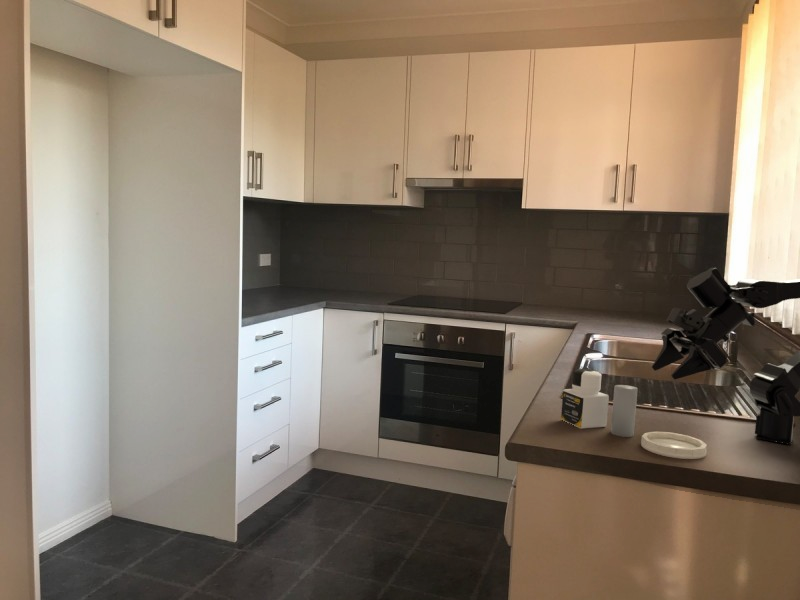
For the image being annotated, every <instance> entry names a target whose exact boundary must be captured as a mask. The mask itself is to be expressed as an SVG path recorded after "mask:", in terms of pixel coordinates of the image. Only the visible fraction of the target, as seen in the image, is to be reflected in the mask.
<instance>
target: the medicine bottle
mask: <svg viewBox="0 0 800 600" xmlns="http://www.w3.org/2000/svg"><path fill="white" fill-rule="evenodd" d="M602 376H603V375H602V374H601V372H599V371H598V370H594V369H588V368H578V369H575V370H574V371H573V372H572V383H571V384H572V385H571V388H565V389H563V390H562V400H561V401H562V403H561V412H560V413H561V415H560V421H562V420H563V421H562V422H564V421H565V422H564V423H566V422H567V424H569V423H570V424H569V425H571V424H572V425H571V426H573V425H574V427H575V428H578V429H594V428H603V427H604V428H605V427H607V420H608V409H609V399H610V398H609V394H606V393H603V392H600V391H601V386H602V385H601V384H602Z"/></svg>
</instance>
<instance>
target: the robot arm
mask: <svg viewBox="0 0 800 600" xmlns="http://www.w3.org/2000/svg"><path fill="white" fill-rule="evenodd" d="M686 288H687V289H688V290H689V292H690V293H691V294H692V295H693V296H694V298H695V299H696V300H697V301H698V302H699V304H700V305H701V306H702V307H703V308H705V309H706V308H711V309H712V310H711V311H709V312H708V314H706V315H705V316H704V315H703V313H702V312H701V311H698V310H697V309H691V310H688V311H687V310H685V309H682V308H678V307H673V308H672V310H671V311H670V314H669V315H668V317H667V318H666V321H667V322H668V323H671V324H674V325H676V326H677V327H679V328H681V330H679V329H676V328H673V327H669V328H667V327H666V329H664V330H663V331H662V332H661V333H660V335H661V340H662V348H661V350H660V351H659V354H658V355H657V357H656V358H655V360H654V361H653V363H652V366H651V369H652V370H653V371H655V372H656V371H658V370H661V369H663V368H665V367H667V366H669V365H671V364H674V363H675V362H678V361H680V360H682V359H684V358H685V356H686V355H687V357H686V358H685V359H684V360H683V361H682V362H681V363H680V364H679V365H678V366H677V368H676V369H674V371H673V372H672V373H671V375H670V376H671V378H672V379H673V380H675V381H676V380H678V379H683V378H686V377H688V376H693V375H695V374H699V373H703V372H706V371H707V372H708V371H710V370H712V371H713V370H715V369H719V370H720V369H722V368H723V367H724V366H725V365H727V363H728V355H727V354H726V353H725V351H724V350H723V349H722V348H721V347H720V346H719V343H720V342H721V341H722V342H724V343H726V342H728V341H729V340H730V338H729V337H728V335H729V334H730V333H732V332H733V331H734V330H735V329H736V328H737V327H738V326H739V325H741V324H742V325H747V326H750V327H751V326H752V327H754V326H755V324H756V321H755V315H756V313H755V312H751V311H748V310H747V309H746V308H745V307H750V308H754V309H755V308H756V309H764V308H768V307H773V306H775V305H778V304H779V303H782V302H784V301H787V300H797V299H800V278H799V279H791V280H781V281H772V280H762V279H761V280H760V279H750V278H749V279H748V278H744V279H741V280H739V281H737V283H736V284H729V283H728V282H727V281H726V279H725V278H724V277H723V276H722V274H721V272H720V271H719V269H718V268H716V267H709V269H707V270H706V271H703V272H700V273H699V274H697V275H696V276H693V277H692V278H691V279H689V281H688V282H687V284H686ZM753 376H754V377H753V378H752V379H751V380H750V382H749V391H750V394H751V397H753V399H754V403H755V406H757V407H759V408H760V409H759V410H760V411H759V413H757V415H756V418H755V427H754V434H755V435H756V436H755V439H757V438H758V439H757V440H761V439H764V440H763V441H767V440H770V441H769V442H772V441H777V442H783V443H788V444H791V445H792V443H793V439H794V437H793V430H794V419H795V417H800V401H799V399H798V398H797V397H796V396H797V395H798V393H799V392H800V349H799V350H798V351H797V352H796V353H794V354H793V355H792V356H790V357H789V358H788V359H787V360H786V361H785V362H783V363H782V364H780V365H775V364H772V363H766V364H765V365H764V366H763V367H762V368H761V369H760V370H759V371H758V372H755V373H753ZM792 438H793V439H792ZM777 442H776V443H777ZM791 442H792V443H791ZM783 443H782V444H783ZM788 444H787V445H788Z"/></svg>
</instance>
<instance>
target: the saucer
mask: <svg viewBox="0 0 800 600" xmlns="http://www.w3.org/2000/svg"><path fill="white" fill-rule="evenodd" d="M640 440H641V442H640V445H641V447H642V448H643V449H644V450H646V451H647V452H650V453H652V454H655V455H656V454H657V455H659V456H663V457H669V458H673V459H679V460H680V459H684V460H698V459H703V458H705V457H706V456H707V453H708V452H707V446H708V445H707V443H705V442H704V441H703V440H701V439H699V438H696V437H693V436H690V435H687V434H681V433H676V432H672V431H671V432H668V431H649V432H645V433H643V435H641V439H640Z"/></svg>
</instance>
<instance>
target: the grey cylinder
mask: <svg viewBox="0 0 800 600" xmlns="http://www.w3.org/2000/svg"><path fill="white" fill-rule="evenodd" d="M637 399H638V387H636V386H633V385H625V384H616V385H614V390H613V400H612V402H613V403H612V412H611V424H610V425H611V427H610V434H612V435H613V436H616V437H623V438H631V437H634V436H635V435H634V432H635V423H636V411H637Z"/></svg>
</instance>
